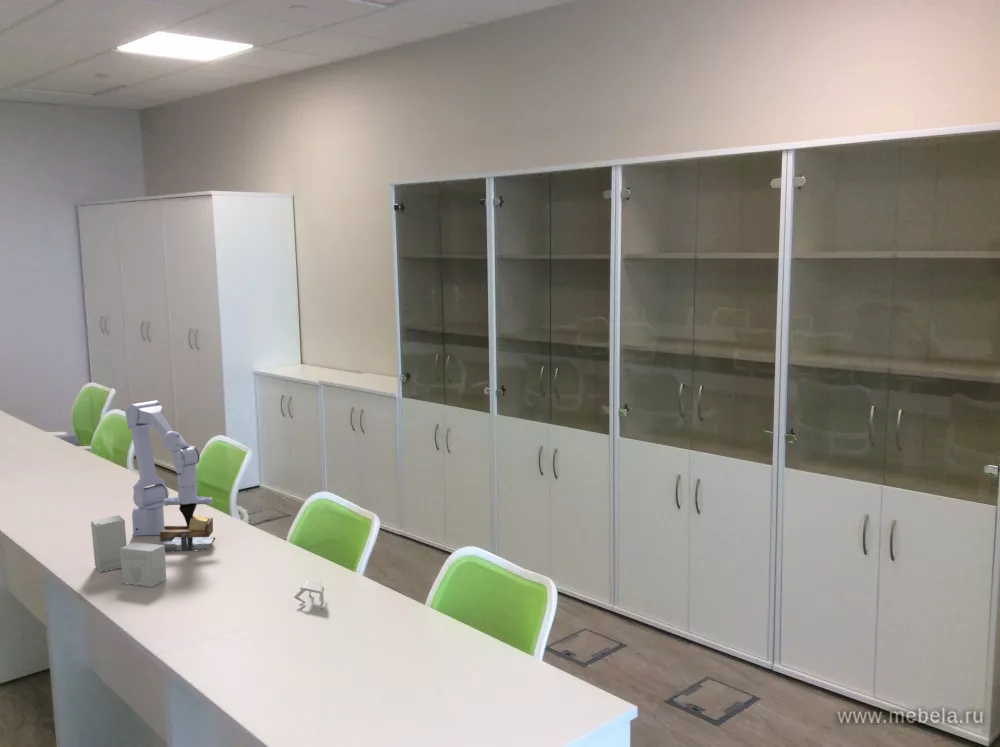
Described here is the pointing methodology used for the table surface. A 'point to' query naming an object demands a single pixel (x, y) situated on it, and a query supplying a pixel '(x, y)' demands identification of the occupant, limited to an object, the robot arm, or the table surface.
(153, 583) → the skincare box
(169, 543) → the pivot stand
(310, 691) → the table surface
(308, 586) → the origami figure
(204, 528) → the block
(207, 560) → the table surface
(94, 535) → the skincare box
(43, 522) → the table surface
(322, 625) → the table surface
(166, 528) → the balance beam
